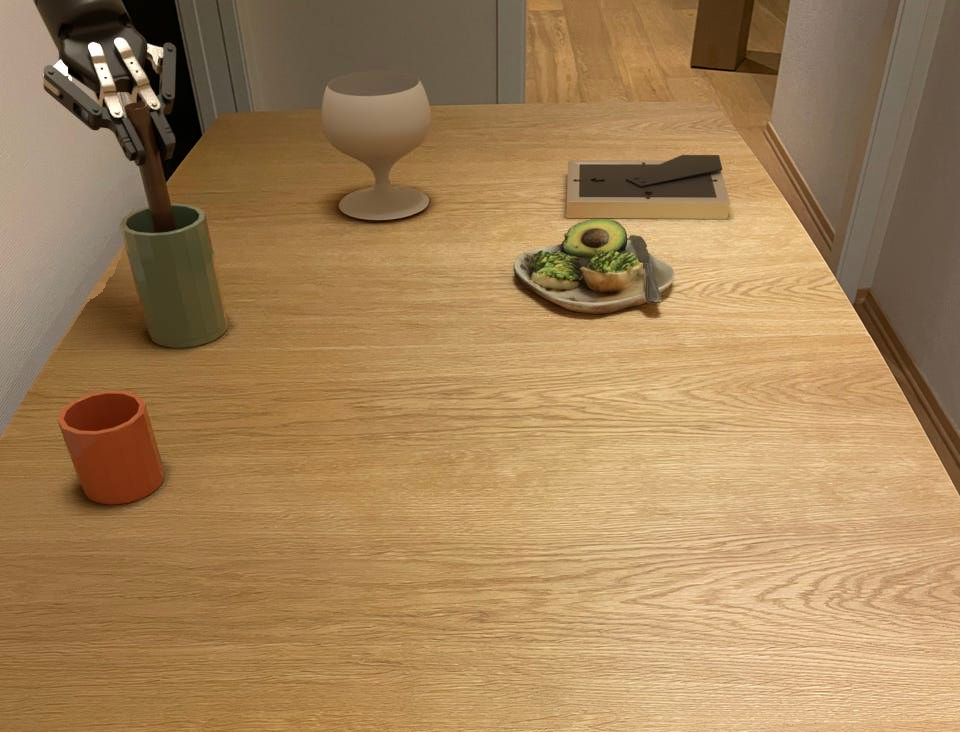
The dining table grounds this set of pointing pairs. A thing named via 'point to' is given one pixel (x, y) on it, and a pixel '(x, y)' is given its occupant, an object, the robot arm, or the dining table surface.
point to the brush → (152, 169)
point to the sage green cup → (176, 277)
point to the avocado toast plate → (595, 269)
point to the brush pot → (112, 446)
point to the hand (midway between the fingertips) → (155, 157)
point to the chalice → (378, 136)
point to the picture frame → (647, 188)
